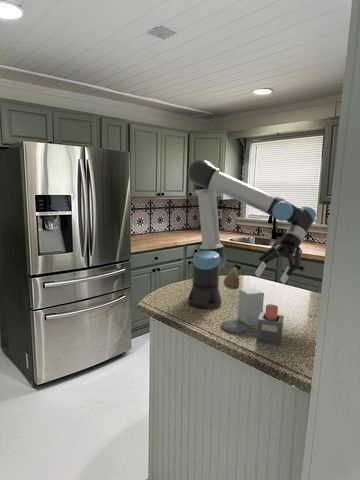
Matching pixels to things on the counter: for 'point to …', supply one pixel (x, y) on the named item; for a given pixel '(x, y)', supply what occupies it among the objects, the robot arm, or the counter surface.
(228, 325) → the coaster
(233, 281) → the rock
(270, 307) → the button
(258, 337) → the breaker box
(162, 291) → the counter surface
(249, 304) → the supplement box
